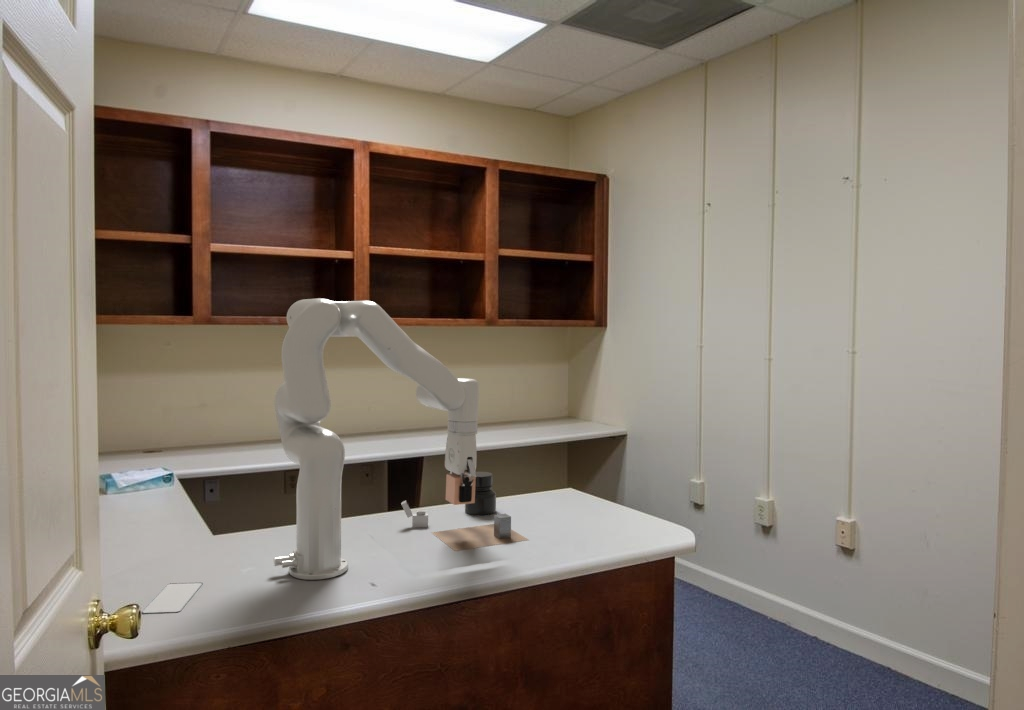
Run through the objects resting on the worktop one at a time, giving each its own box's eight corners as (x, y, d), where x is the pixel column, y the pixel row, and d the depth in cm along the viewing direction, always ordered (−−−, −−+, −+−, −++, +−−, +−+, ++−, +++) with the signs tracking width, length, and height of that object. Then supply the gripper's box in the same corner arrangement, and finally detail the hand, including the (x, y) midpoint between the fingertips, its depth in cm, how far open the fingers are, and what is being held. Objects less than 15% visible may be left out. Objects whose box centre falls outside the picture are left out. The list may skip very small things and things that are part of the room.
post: (499, 539, 174) (499, 518, 173) (493, 535, 177) (494, 514, 176) (510, 537, 175) (511, 516, 175) (505, 534, 178) (505, 513, 178)
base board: (455, 555, 165) (455, 550, 165) (431, 537, 179) (431, 532, 179) (529, 544, 174) (529, 539, 174) (500, 527, 188) (500, 523, 188)
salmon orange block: (454, 504, 172) (455, 478, 171) (445, 499, 177) (446, 473, 176) (474, 503, 174) (475, 477, 174) (465, 498, 179) (466, 472, 179)
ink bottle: (483, 509, 206) (483, 469, 205) (503, 515, 200) (503, 474, 199) (457, 515, 199) (457, 473, 199) (477, 522, 193) (477, 479, 192)
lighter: (427, 529, 185) (428, 499, 185) (428, 531, 184) (428, 501, 183) (401, 530, 184) (401, 500, 184) (400, 532, 183) (401, 502, 182)
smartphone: (203, 582, 146) (179, 611, 131) (203, 584, 146) (179, 614, 131) (168, 583, 145) (140, 613, 130) (168, 585, 145) (140, 616, 130)
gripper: (436, 423, 181) (433, 492, 181) (462, 432, 165) (459, 508, 166) (462, 422, 184) (460, 490, 185) (490, 431, 169) (488, 505, 169)
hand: (460, 498), depth 175 cm, fingers closed on salmon orange block, 5 cm apart
